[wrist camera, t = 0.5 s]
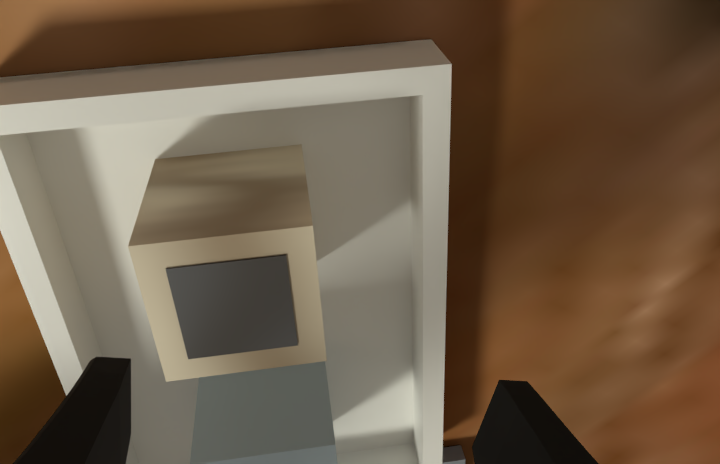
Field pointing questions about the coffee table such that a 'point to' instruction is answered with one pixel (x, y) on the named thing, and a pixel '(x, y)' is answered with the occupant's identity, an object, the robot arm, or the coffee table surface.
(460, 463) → the mat
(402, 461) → the tray
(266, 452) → the blue-grey block
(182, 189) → the birch block
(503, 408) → the robot arm
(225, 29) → the coffee table surface
